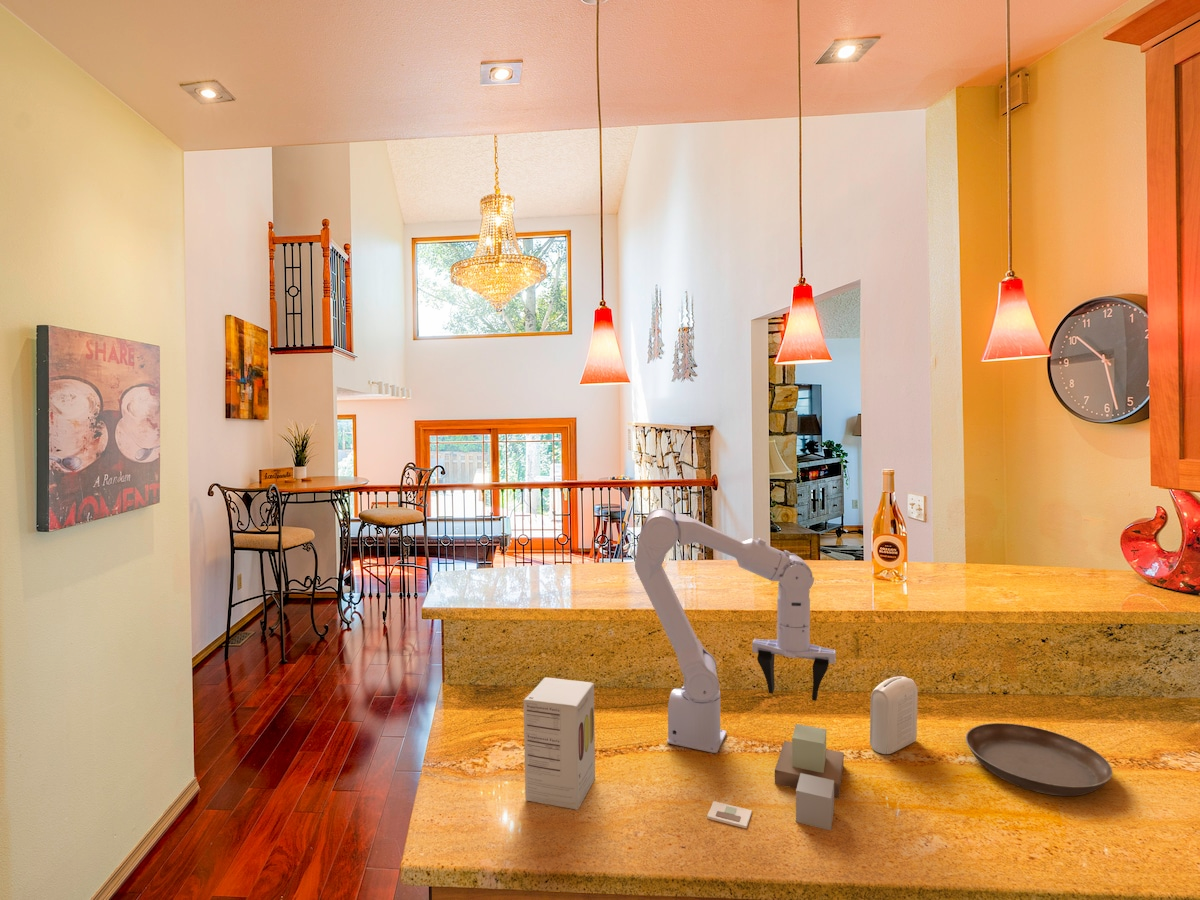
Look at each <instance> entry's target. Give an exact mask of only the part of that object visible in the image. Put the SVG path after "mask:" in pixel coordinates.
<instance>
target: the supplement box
mask: <svg viewBox="0 0 1200 900" xmlns="http://www.w3.org/2000/svg"><path fill="white" fill-rule="evenodd" d="M522 705H523V707H522V708H523V733H524V734H523V737H524V738H523V740H524V742H523V743H524V746H523V747H524V748H523V749H524V783H525V784H524V785H525V786H524V787H525V788H524V790H525V792H524V794H525V795H524V796H525V801H527V802H533V803H539V804H544V805H549V806H556V807H561V808H567V809H571V810H575V811H578V810H579V809H580V807H581V805H582V803H583V801H584V799H585V798H586V796H587V794H588V793H589V790H590V789H591V787H592V785H593V783H594V781H595V780H596V746H595V745H596V743H595V741H596V739H595V738H596V733H595V732H596V731H595V726H596V725H595V684H594V682H591V681H583V680H582V681H581V680H573V679H563V678H556V677H555V678H554V677H545V676H544V677H543V679H542V680H541V681H540V682H539V683H538V684H537V685H536V687H535V688H534V689H533V690H532V691H531V692H530V693H529V694H528V695H527V696H525V698H524V699H523V704H522Z"/></svg>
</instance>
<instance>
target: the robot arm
mask: <svg viewBox="0 0 1200 900" xmlns="http://www.w3.org/2000/svg"><path fill="white" fill-rule="evenodd" d="M678 540H679V546H680V547H681V546H683V547H684V546H686V545H689V544H695V543H697V544H698V545H699V544H700V545H703V546H705V547H706V548H709V549H712V550H714V551H718V552H720V553H722V554H724V555H725V554H726V555H727V556H730V557H733V558H735V559H736V562H737V565H738V566H739V568H741V569H743V570H745V571H748V572H750V573H752V574H755V575H757V576H760V577H762V578H764V579H767V580H769V581H770V582H778V585H777V586H778V591H777V593H778V594H777V597H776V598H777V601H776V602H777V603H776V604H777V605H776V606H777V609H776V612H777V613H776V614H777V615H776V624H777V625H776V639H759V638H754V639H753V640H752V643H751V645H752V646H751V647H752V648H751V649H752V650H751V652H752V653H755V654H757V657H756V659H757V663H758V664H759V666H760V668H761V670H762V673H763V675H764V678H765V680H766V684H767V689H768V690H767V691H768V694H773V693H774V691H775V656H776V655H777V656H778V655H779V656H784V657H787V658H792V659H796V658H800V659H808V660H813V663H812V692H811V693H812V694H811V701H813V702H816V701H817V699H818V693H819V688H820V686H821V683H822V681H823V678H824V676H825V674H826V673H827V671H828V668H829V664H831V665H835V663H836V661H837V659H836V654H837V650H836V649H831V648H828V647H823V646H819V645H817V644H811V643H810V642H811V641H810V640H811V639H810V638H811V636H810V635H811V634H810V632H811V628H810V626H811V599H810V592H811V591H810V589H811V588H812V586H813V585H814V580H815V577H813V572H812V569H811V567H809V565H808V564H807V563H806V561H805V560H804V559H803V558H802V557H800V556H798V555H797V554H796V553H794V552H792V553H791V552H790V551H789V550H786V549H784V550H783V551H782V550H780V549H777V548H776V547H772V546H770V545H769V544H766V543H767V541H766V540H765V539H763V538H761V537H758V538H757V539H754V538H751V537H750V538H748V539H746V540H740V539H737V538H735V537H733V536H731V535H729V534H727V533H725V532H723V531H721V530H718V529H717V528H714V527H712V526H710V525H708V524H706V523H704V522H702V521H700V520H698V519H695V518H694V517H690V516H688V515H686V514H685V513H680V512H675V513H674V512H673V511H672V510H671V509H668V508H663V507H659V508H655V509H654V510H652V511H651V512H649V513H648V515H647V517H646V518H645V520H644V522H643V524H642V525H641V528H640V532H639V535H638V540H637V549H636V554H635V560H634V569H635V572H636V574H637V576H638V578H639V580H640V583H641V584H642V586H643V589H644V590H645V592H646V595H647V597H648V599H649V601H650V603H651V605H652V606H653V609H654V611H655V613H656V615H657V618H658V620H659V621H660V623H661V625H662V627H663V629H664V632H665V634H666V636H667V637H668V639H669V642H670V644H671V646H672V648H673V650H674V652H675V655H676V658H677V662H678V665H679V668H680V671H681V673H682V675H683V686H681V688H673V689H672V690H671V691H670V695H669V699H668V705H667V735H668V736H667V737H668V738H667V739H666V742H667V743H668V744H671V745H673V746H674V745H675V746H680V747H685V748H688V749H694V750H699V751H704V752H708V753H712V754H717V753H718V752H719V750H720V748H721V745H722V744H723V741H724V739H725V738H726V736H727V731H726V730H724V729H721V690H720V682H719V678H718V674H717V661H716V659H715V656H714V655H712V654H711V653H710V652H709V651H707V649H705V647H704V645H703V643H702V641H701V640H700V639H699V638H698V637H697V635H696V633H695V630H694V629H693V626H692V625H691V622H690V621H689V618H688V617H687V614H686V612H685V609H684V608H683V606H682V604H681V602H680V600H679V598H678V596H677V593H676V592H675V590H674V588H673V586H672V583H671V582H670V579H669V577H668V575H667V573H666V570H665V569H664V567H663V563H664V560H665V558H666V555H667V554H668V553H669V552H670V550H671V549H672V548H673V547H674V546H675V545H676V543H677V541H678Z"/></svg>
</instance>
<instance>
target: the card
mask: <svg viewBox="0 0 1200 900" xmlns="http://www.w3.org/2000/svg"><path fill="white" fill-rule="evenodd" d="M752 814H753V810H751V809H747V808H743V807H739V806H735V805H733V804H732V805H731V804H728V803H724V802H718V801H715V800H713V801H712V803H711V807H710V808H709V811H708V813H707V815H706V819H707V820H712V821H716V822H718V823H719V822H720V823H723V824H728V825H731V826H733V827H734V826H735V827H739V828H742V829H748V826H749V823H750V820H751V817H752Z"/></svg>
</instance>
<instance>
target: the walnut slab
mask: <svg viewBox="0 0 1200 900" xmlns="http://www.w3.org/2000/svg"><path fill="white" fill-rule="evenodd" d="M844 755H845V754H844V752H843V751H838V750H832V749H828V748H826V761H825V767H824V773H821V772H816V771H811V770H806V769H801V768H797V767H792V741H787V740H783V743H782V747H781V749H780V753H779V755H778V759H777V762H776V765H775V768H774V785H778V786H783V787H787V788H791V789H795V790H796V789H797V785H798V781H799V777H800V773H803V774H807V775H812V776H817V777H821V778H826V779H830V780H834V799H840V794H841V793H840V792H841V786H842V785H841V784H842V778H843V771H844V761H845V760H844Z"/></svg>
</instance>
